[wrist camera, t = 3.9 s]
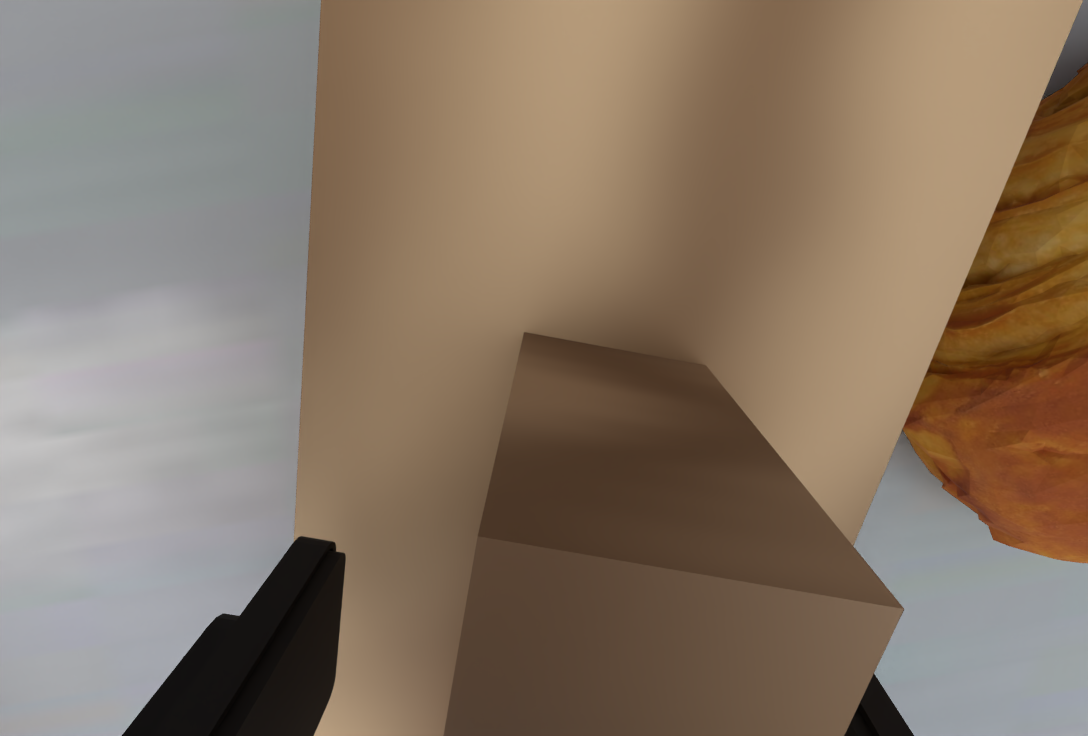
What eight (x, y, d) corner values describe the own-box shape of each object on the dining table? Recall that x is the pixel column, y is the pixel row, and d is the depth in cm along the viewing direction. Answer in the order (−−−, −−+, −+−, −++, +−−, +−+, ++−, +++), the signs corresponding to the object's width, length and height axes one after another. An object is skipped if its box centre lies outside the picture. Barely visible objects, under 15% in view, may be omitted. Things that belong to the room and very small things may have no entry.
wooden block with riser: (980, 26, 9) (2371, -492, 2) (656, 887, 16) (734, 1444, 9) (377, -100, 9) (-330, -1211, 2) (308, 834, 16) (103, 1371, 9)
